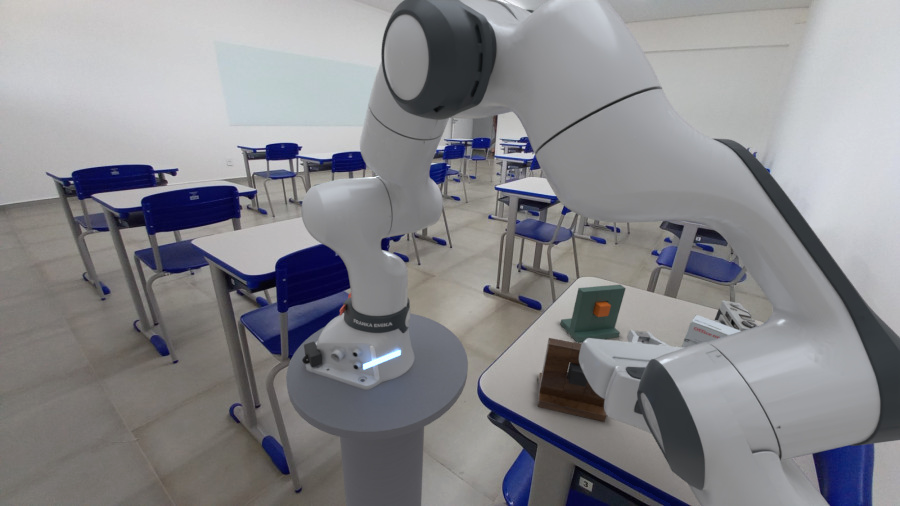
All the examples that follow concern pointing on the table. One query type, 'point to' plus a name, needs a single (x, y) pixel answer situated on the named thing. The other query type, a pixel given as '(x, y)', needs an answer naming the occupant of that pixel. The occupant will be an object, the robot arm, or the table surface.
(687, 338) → the ink box
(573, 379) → the near switch
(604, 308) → the far switch
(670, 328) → the table surface
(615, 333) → the far plate
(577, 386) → the near plate
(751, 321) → the grey black box
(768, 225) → the robot arm
